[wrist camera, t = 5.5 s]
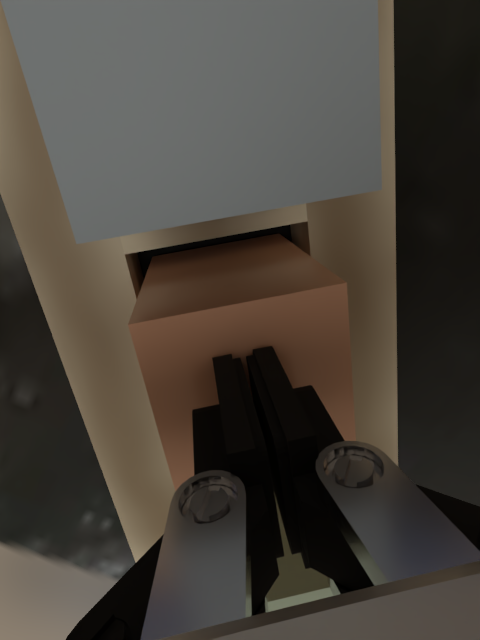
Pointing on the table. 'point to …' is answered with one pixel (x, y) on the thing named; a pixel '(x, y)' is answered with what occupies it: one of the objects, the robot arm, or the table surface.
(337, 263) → the birch board
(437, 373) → the table surface
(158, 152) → the slate key
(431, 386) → the table surface
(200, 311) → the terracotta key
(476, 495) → the table surface
